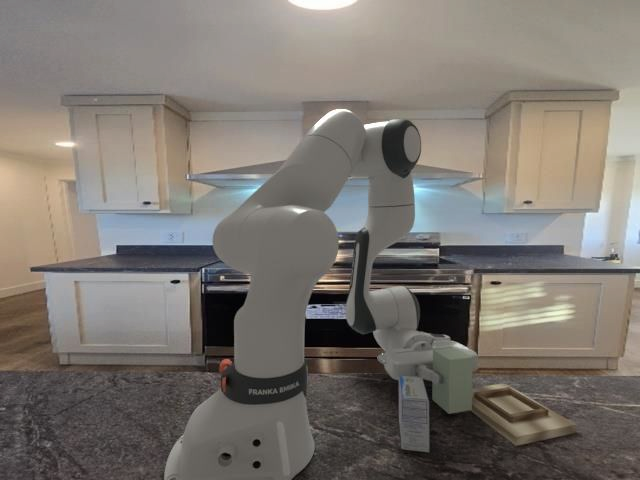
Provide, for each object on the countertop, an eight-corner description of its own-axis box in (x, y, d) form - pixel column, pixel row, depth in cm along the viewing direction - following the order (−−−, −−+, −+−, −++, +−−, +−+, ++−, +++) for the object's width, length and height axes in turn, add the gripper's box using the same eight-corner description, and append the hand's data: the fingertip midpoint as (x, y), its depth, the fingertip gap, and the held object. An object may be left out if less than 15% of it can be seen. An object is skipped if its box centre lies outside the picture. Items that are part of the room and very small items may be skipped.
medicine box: (429, 454, 48) (430, 400, 48) (400, 450, 49) (400, 397, 49) (423, 423, 56) (423, 377, 56) (398, 420, 57) (398, 374, 57)
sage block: (448, 413, 56) (449, 359, 56) (432, 399, 61) (432, 349, 61) (471, 410, 57) (472, 357, 57) (453, 396, 62) (454, 347, 62)
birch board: (515, 445, 50) (516, 430, 50) (454, 397, 65) (454, 386, 65) (575, 432, 53) (576, 418, 53) (504, 389, 68) (504, 378, 68)
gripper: (373, 341, 69) (406, 367, 55) (452, 334, 74) (498, 356, 61) (373, 369, 69) (405, 401, 56) (451, 360, 74) (498, 388, 61)
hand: (455, 378), depth 58 cm, fingers closed on sage block, 5 cm apart
